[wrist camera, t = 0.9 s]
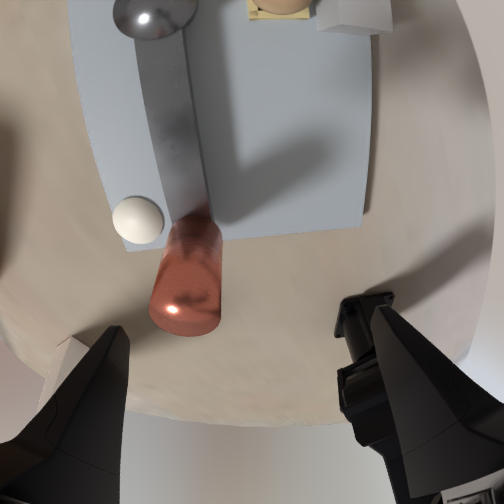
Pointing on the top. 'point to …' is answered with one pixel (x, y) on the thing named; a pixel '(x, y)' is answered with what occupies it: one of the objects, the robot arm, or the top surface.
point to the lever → (176, 166)
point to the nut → (282, 6)
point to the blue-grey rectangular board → (240, 115)
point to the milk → (61, 367)
